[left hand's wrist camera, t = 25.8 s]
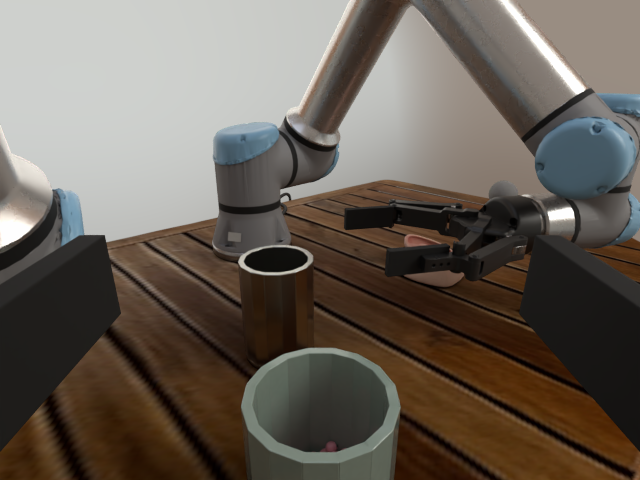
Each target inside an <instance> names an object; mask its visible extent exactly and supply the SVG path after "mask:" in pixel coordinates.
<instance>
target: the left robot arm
mask: <svg viewBox="0 0 640 480" xmlns="http://www.w3.org/2000/svg"><path fill="white" fill-rule="evenodd" d="M120 314H121V312H120V307H119V302H118V297H117V292H116V288H115V283H114V278H113V273H112V268H111V263H110V259H109V254H108V249H107V244H106V240H105V235H84V229H83V221H82V213H81V207H80V201H79V197H78V196H77V194H76V193H75V192H72V191H66V190H61V189H52V188H51V185H50V183H49V181H48V179H47V177H46V176H45V174H44V172H42V171H41V170H40V169H39V168H38V167H37V166H36V165H34V164H33V163H31V162H30V161H28V160H26V159H24V158H22V157H19V156H17V155H14V154H11V151H10V149H9V146H8V143H7V141H6V138H5V136H4V133H3V130H2V128H1V125H0V451H1V450H2V449H3V448H4V447H5V446H6V445H7V443H8V442H9V441H10V440H11V439H12V438H13V436H14V435H15V434H16V433H17V432H18V431H19V430H20V428H21V427H22V426H23V425H24V424H25V423H26V422H27V420H28V419H29V418H30V417H31V416H32V415H33V414H34V412H35V411H36V410H37V409H38V408H39V407H40V406H41V404H42V403H43V402H44V401H45V400H46V399H47V398H48V396H49V395H50V394H51V393H52V392H53V391H54V390H55V388H56V387H57V386H58V385H59V384H60V383H61V382H62V380H63V379H64V378H65V377H66V376H67V375H68V374H69V372H70V371H71V370H72V369H73V368H74V367H75V366H76V364H77V363H78V362H79V361H80V360H81V359H82V358H83V356H84V355H85V354H86V353H87V352H88V351H89V350H90V348H91V347H92V346H93V345H94V344H95V343H96V342H97V340H98V339H99V338H100V337H101V336H102V335H103V333H104V332H105V331H106V330H107V329H108V328H109V327H110V325H111V324H112V323H113V322H114V321H115V320H116V319H117V317H118V316H119V315H120ZM519 314H520V315H521V316H522V317H523V319H524V320H525V321H526V322H527V323H528V324H529V325H530V327H531V328H532V329H533V330H534V331H535V332H536V333H537V335H538V336H539V337H540V338H541V339H542V340H543V342H544V343H545V344H546V345H547V346H548V347H549V348H550V350H551V351H552V352H553V353H554V354H555V355H556V356H557V358H558V359H559V360H560V361H561V362H562V363H563V364H564V366H565V367H566V368H567V369H568V370H569V371H570V372H571V374H572V375H573V376H574V377H575V378H576V379H577V380H578V382H579V383H580V384H581V385H582V386H583V387H584V388H585V390H586V391H587V392H588V393H589V394H590V395H591V396H592V398H593V399H594V400H595V401H596V402H597V403H598V404H599V406H600V407H601V408H602V409H603V410H604V411H605V412H606V414H607V415H608V416H609V417H610V418H611V419H612V420H613V422H614V423H615V424H616V425H617V426H618V427H619V428H620V430H621V431H622V432H623V433H624V434H625V435H626V436H627V438H628V439H629V440H630V441H631V442H632V443H633V445H634V446H635V447H636V448H637V449H638V450H639V451H640V284H638V283H637V282H635V281H633V280H632V279H630V278H629V277H627V276H625V275H624V274H622V273H621V272H619V271H617V270H616V269H614V268H612V267H611V266H609V265H608V264H606V263H604V262H603V261H601V260H600V259H598V258H596V257H595V256H593V255H592V254H590V253H588V252H587V251H585V250H584V249H582V248H580V247H579V246H577V245H575V244H574V243H572V242H571V241H569V240H567V239H566V238H564V237H563V236H561V235H535V239H534V244H533V249H532V254H531V259H530V263H529V268H528V273H527V278H526V283H525V288H524V292H523V297H522V302H521V307H520V312H519Z"/></svg>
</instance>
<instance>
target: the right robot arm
mask: <svg viewBox="0 0 640 480" xmlns="http://www.w3.org/2000/svg"><path fill="white" fill-rule="evenodd" d="M413 5H414V7H415V8H416V9H417V10H418V12H419V13H420V14H421V15H422V17H423V18H424V19H425V20H426V22H427V23H428V24H429V25H430V26H431V28H432V29H433V30H434V31H435V33H436V34H437V35H438V36H439V38H440V39H441V40H442V41H443V43H444V44H445V45H446V46H447V48H448V49H449V50H450V51H451V53H452V54H453V55H454V56H455V58H456V59H457V60H458V61H459V63H460V64H461V65H462V66H463V68H464V69H465V70H466V71H467V73H468V74H469V75H470V76H471V78H472V79H473V80H474V81H475V83H476V84H477V85H478V86H479V88H480V89H481V90H482V91H483V93H484V94H485V95H486V96H487V98H488V99H489V100H490V101H491V102H492V104H493V105H494V106H495V107H496V109H497V110H498V111H499V112H500V114H501V115H502V116H503V117H504V119H505V120H506V121H507V122H508V124H509V125H510V126H511V127H512V129H513V130H514V131H515V132H516V133H517V135H518V136H519V137H520V139H521V140H522V141H523V142H524V144H525V145H526V147H527V148H528V149H529V151H530V152H531V153H532V154H533V156H534V157H535V169H536V173H537V176H538V179H539V180H540V182H541V183H542V185H543V186H544V187H545V188H546V189H547V190H548V191H550V192H551V193H541V194H525V195H522V196H519V195H517V196H500V197H494V198H492V199H490V200H489V201H488V202H487V203H486V204H485V205H484V206H483V207H482V208H481V209H480V210H476V209H470V208H466V209H462V204H460V203H433V202H419V201H404V200H395V199H392V200H389V206H374V207H358V208H345V217H344V229H345V230H353V229H365V228H378V227H389V228H392V227H393V226H394V224H400V225H406V226H413V227H419V228H425V229H431V230H437V231H438V232H439V233H440V234H441V235H445V236H451V237H456V238H458V240H459V241H460V242H455V241H454V243H453V250H452V252H449V250H450V246H449V245H448V244H435V245H424V246H413V247H402V248H391V249H387V253H386V265H385V274H386V275H387V277H391V276H400V275H410V274H419V273H428V272H438V271H447V270H450V272H452V273H457V274H459V273H461V272H462V273H465V274H466V275H465V278H466V279H467V280H470V281H477V280H479V279H481V278H482V277H484V276H486V275H488V274H489V273H491V272H493V271H495V270H496V269H498V268H500V267H502V266H503V265H505V264H507V263H509V262H511V261H517V260H522V259H524V255H525V254H532V249H533V244H534V239H535V235H561V236H563V237H564V238H566V239H567V240H569V241H571V242H572V243H574V244H575V245H577V246H579V247H580V248H582V249H583V248H602V247H604V246H610V245H615V244H619V243H622V242H625V241H627V240H629V239H630V238H632V237H633V236H634V235H635V234H636V233H637V231H638V230H639V228H640V204H639V202H638V201H637V199H636V198H635V197H634V196H633V195H632V194H630V188H631V182H632V180H633V177H634V174H635V171H636V168H637V165H638V162H639V159H640V94H609V93H595V92H594V91H593V90H592V89H591V87H590V86H589V84H588V83H587V82H586V81H585V80H584V79H583V77H582V76H581V75H580V74H579V73H578V72H577V70H576V69H575V68H574V67H573V66H572V65H571V63H570V62H569V61H568V60H567V59H566V58H565V56H564V55H563V54H562V53H561V52H560V51H559V49H558V48H557V47H556V46H555V45H554V44H553V42H552V41H551V40H550V39H549V38H548V37H547V35H546V34H545V33H544V32H543V31H542V30H541V28H540V27H539V26H538V25H537V24H536V23H535V21H534V20H533V19H532V18H531V17H530V16H529V14H528V13H527V12H526V11H525V10H524V9H523V7H522V6H521V5H520V4H519V3H518V2H517V0H350V1H349V3H348V5H347V7H346V9H345V11H344V14H343V16H342V18H341V20H340V22H339V24H338V26H337V28H336V30H335V32H334V34H333V37H332V39H331V41H330V43H329V45H328V47H327V49H326V51H325V53H324V55H323V57H322V59H321V62H320V64H319V66H318V68H317V70H316V72H315V74H314V76H313V78H312V80H311V82H310V85H309V87H308V89H307V91H306V93H305V95H304V97H303V99H302V101H301V103H300V105H299V106H298V107H294V108H291V109H290V110H289V111H288V112H287V114H286V116H285V119H284V121H283V123H282V125H281V127H280V128H279V129H277V126H276V125H275V124H273V123H267V122H255V123H249V124H239V125H234V126H230V127H227V128H224V129H222V130H220V131H219V132H217V133H216V135H215V137H214V140H213V160H214V162H215V172H216V183H217V193H218V202H219V216H218V220H217V224H216V228H215V232H214V236H213V241H212V243H213V252H214V253H215V255H216V256H218V257H220V258H222V259H225V260H228V261H234V262H238V261H239V259H240V257H241V256H242V255H243V254H245V253H246V252H248V251H249V250H252V249H256V248H259V247H264V246H270V245H289V246H291V235H290V233H289V230H288V227H287V224H286V222H285V219H284V216H283V215H284V214H285V213H286V211H287V207H286V205H284V204H283V203H281V202H280V199H281V198H282V197H283V196H285V195H287V196H288V198H289V201H290V200H291V196H290V194H289V193H283V194H281V195H280V189H284V188H288V187H292V186H296V185H300V184H305V183H309V182H314V181H317V180H319V179H321V178H323V177H325V176H327V175H328V174H329V173H330V172H331V171H332V170H333V169H334V167H335V166H336V163H337V161H338V157H339V152H338V148H339V141H340V134H339V131H338V128H339V126H340V124H341V122H342V121H343V119H344V117H345V115H346V114H347V112H348V110H349V108H350V107H351V105H352V103H353V102H354V100H355V98H356V96H357V95H358V93H359V91H360V89H361V88H362V86H363V84H364V82H365V81H366V79H367V77H368V76H369V74H370V72H371V70H372V69H373V67H374V65H375V63H376V62H377V60H378V58H379V56H380V55H381V53H382V51H383V49H384V48H385V46H386V44H387V43H388V41H389V39H390V37H391V36H392V34H393V32H394V30H395V29H396V27H397V25H398V24H399V22H400V20H401V18H402V17H403V15H404V13H405V12H406V10H407V9H408V8H409V7H410V6H413ZM281 206H282V207H284V210H283V212H282V211H281ZM447 223H450V224H449V229H447Z"/></svg>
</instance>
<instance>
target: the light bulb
mask: <svg viewBox="0 0 640 480" xmlns="http://www.w3.org/2000/svg"><path fill="white" fill-rule="evenodd" d="M517 195H518V190H517V188H516V186H515V185H514V184H513V183H511V182H509V181H499V182H497V183H495V184H494V185H493V186H492V187H491V188H490V190H489V199H492V198H494V197H500V196H517Z"/></svg>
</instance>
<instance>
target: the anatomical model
mask: <svg viewBox="0 0 640 480" xmlns="http://www.w3.org/2000/svg"><path fill="white" fill-rule="evenodd" d="M404 244H405V247H413V246H424V245H435V244H441V243H439V242H436V241H434V240H431V239H428V238H425V237H422V236H418V235H407V236H406V237H405V239H404ZM449 252H452V250H451V249H450V250H449ZM404 276H405V277H407V278H409V279H412V280H414V281H417V282H421V283H424V284H428V285H433V286H438V287H449V286H452V285H454V284H455V283H457V282H458V281H460V280H461V279H462V277H463V276H464V273H462V272H461V273H459V274H457V273H452V272H450V270H447V271H438V272H428V273H419V274H410V275H404Z"/></svg>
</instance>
